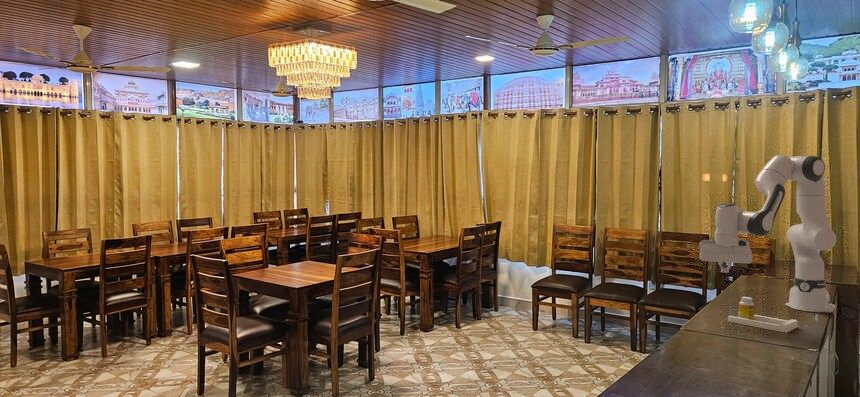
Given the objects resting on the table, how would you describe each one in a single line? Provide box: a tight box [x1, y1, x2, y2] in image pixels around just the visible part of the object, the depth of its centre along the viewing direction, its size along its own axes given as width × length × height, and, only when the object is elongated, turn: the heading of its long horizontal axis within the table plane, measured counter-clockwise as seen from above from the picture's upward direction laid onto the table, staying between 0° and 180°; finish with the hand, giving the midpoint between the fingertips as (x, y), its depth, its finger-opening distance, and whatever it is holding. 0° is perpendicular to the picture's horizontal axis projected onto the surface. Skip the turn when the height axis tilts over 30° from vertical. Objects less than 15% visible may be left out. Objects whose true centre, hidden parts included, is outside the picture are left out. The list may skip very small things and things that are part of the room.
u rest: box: [727, 312, 798, 334], centre depth 233 cm, size 12×22×3 cm, turn 39°
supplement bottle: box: [738, 296, 755, 320], centre depth 237 cm, size 6×6×10 cm
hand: (724, 272), depth 243 cm, fingers closed
